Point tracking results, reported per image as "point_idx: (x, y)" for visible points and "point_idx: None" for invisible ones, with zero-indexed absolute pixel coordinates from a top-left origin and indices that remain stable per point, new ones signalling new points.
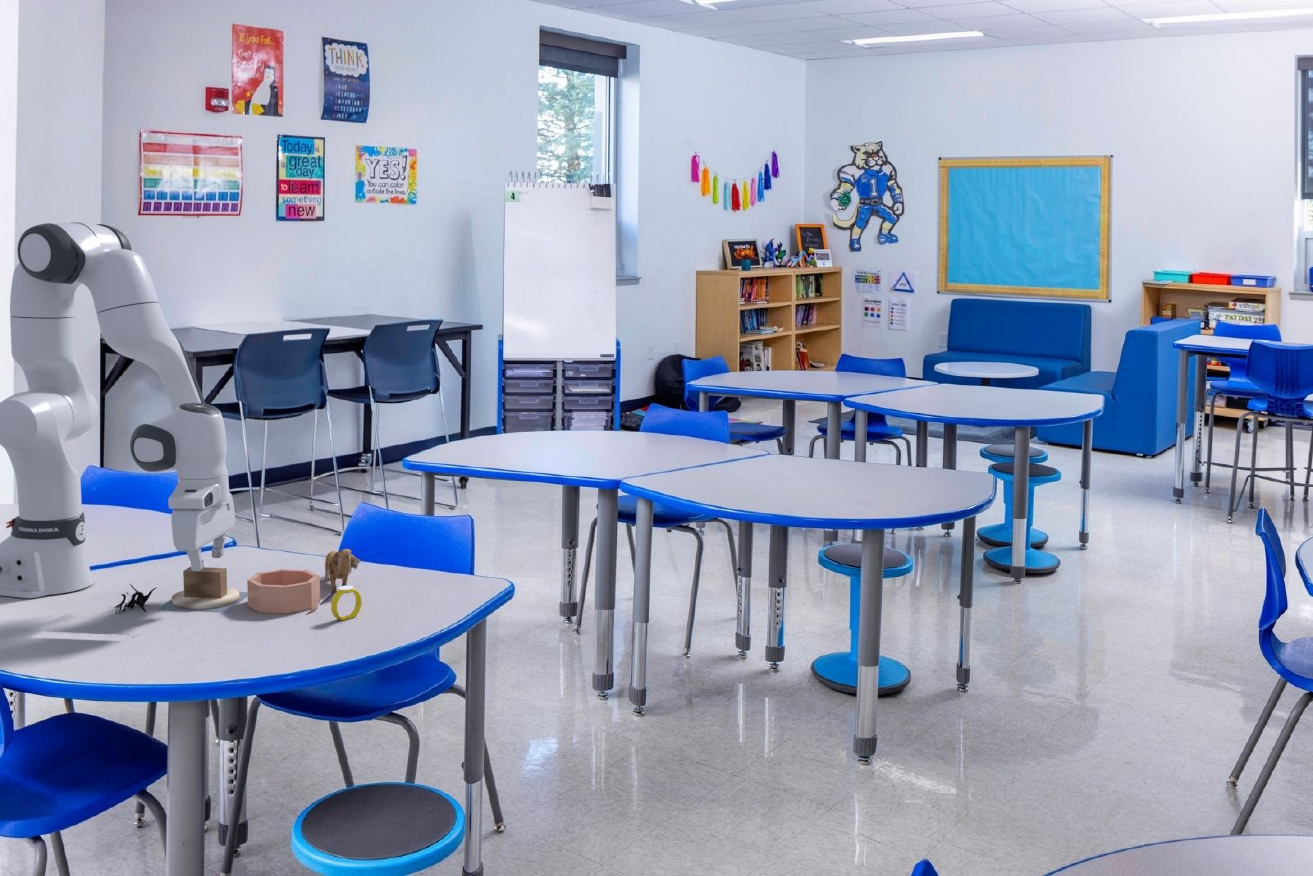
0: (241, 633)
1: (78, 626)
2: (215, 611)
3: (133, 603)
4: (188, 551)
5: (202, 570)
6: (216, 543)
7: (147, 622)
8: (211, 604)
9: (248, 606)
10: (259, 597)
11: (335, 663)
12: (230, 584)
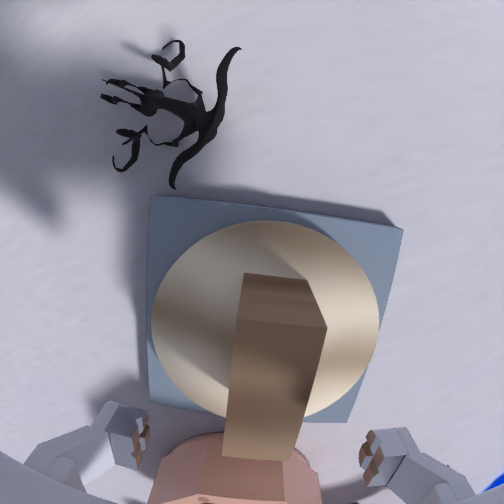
0: (65, 419)
1: (62, 33)
2: (149, 378)
3: (147, 111)
4: (35, 459)
5: (251, 398)
6: (417, 478)
7: (83, 196)
8: (168, 374)
9: (207, 439)
10: (153, 484)
11: None
12: (476, 321)
